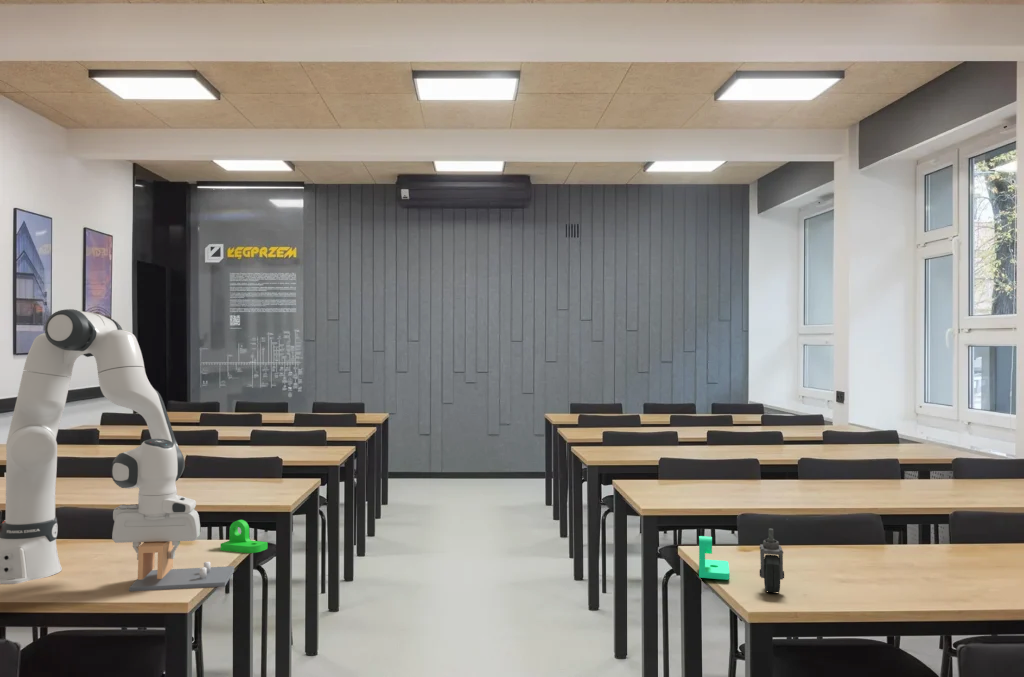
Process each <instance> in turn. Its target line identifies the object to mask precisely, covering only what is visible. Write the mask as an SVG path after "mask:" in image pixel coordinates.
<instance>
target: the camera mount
mask: <svg viewBox="0 0 1024 677" xmlns="http://www.w3.org/2000/svg"><path fill="white" fill-rule="evenodd" d="M698 540H699V541H698V546H699V547H698V548H699V549H698V550H699V551H698V578H702V579H715V580H730V576H731V575H730V565H729V564H730V563H729V561H727V560H719V559H706V554H708V555H711V554H713V537H712V536H704V535H699V536H698Z"/></svg>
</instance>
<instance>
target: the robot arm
mask: <svg viewBox="0 0 1024 677" xmlns="http://www.w3.org/2000/svg"><path fill="white" fill-rule="evenodd" d="M82 355H83V356H85V357H87V358H88V357H89V358H90V357H94V359H95V363H96V369H97V376H98V377H97V378H98V382H99V383H98V384H99V388H100V391H101V394H102V395H103V397H104V398H106V399H107V400H108V401H109V402H111V403H113V404H115V405H117V406H120V407H123V408H126V409H129V410H132V411H134V412H136V413H137V414H139V415H140V416H142V418H143V419H144V421H145V423H146V425H147V429H148V432H149V435H150V438H149V439H146V440H144V441H143V442H141V443H140V445H139V446H137V447H135V448H133V449H130V450H127V451H123V452H120V453H119V454H117V455H116V457H115V458H114V459H113V461H112V463H111V467H110V468H111V469H110V474H111V475H110V476H111V478H112V481H113V482H114V484H115V485H116V486H118V487H119V488H120V489H137V488H138V500H137V501H138V502H137V503H138V504H120V505H119V506H117V507H115V508H114V509H113V512H112V520H113V521H114V523H113V527H112V533H111V534H112V535H111V536H112V538H111V540H112V541H113V542H114V543H116V544H117V543H118V544H119V543H120V544H121V543H122V544H123V543H126V544H127V543H132V547H133V550H134V551H135V553H136V556H137V557H136V560H137V561H138V548H139V546H140V545H141V544H142V543H144V542H165V541H172V545H173V549H172V550H171V551H168V552H167V559H173V560H174V559H175V557H176V550H177V549H178V548H179V546H180V544H181V542H194V541H196V540H197V539H198V538H199V537H200V534H201V522H200V515H199V513H198V511H197V510H195V508H196V507H197V501H196V500H195V499H193V498H190V497H185V496H183V495H180V494H178V488H177V485H176V484H177V483H176V482H177V481H178V480H179V479H180V478H181V476H182V475H183V472H184V470H185V467H186V466H185V465H186V461H185V458H184V454H183V452H182V451H181V448H180V447H179V445H178V442H177V439H176V437H175V434H174V430H173V428H172V424H171V421H170V418H169V415H168V411H167V409H166V406H165V402H164V400H163V397H162V395H161V393H159V391H158V390H157V389H156V388H154V387H153V385H152V384H151V382H150V381H149V379H148V376H147V373H146V368H145V362H144V358H143V353H142V350H141V347H140V345H139V342H138V339H137V337H136V335H135V334H133V333H132V332H130V331H128V330H124V329H123V328H122V326H121V325H120V323H119V322H118V321H116V320H115V319H113V318H112V317H108V316H106V315H105V316H104V315H102V314H99V313H96V312H92V311H82V310H77V309H73V308H72V309H71V308H69V309H67V308H66V309H59V310H58V311H55V312H53V313H52V314H51V315H50V316H49V317H48V318H47V319H46V321H45V325H44V332H43V333H41V334H38V335H37V336H36V337H35V338H34V339H33V341H32V344H31V345H30V348H29V351H28V353H27V356H26V358H25V363H24V366H23V370H22V374H21V379H20V383H19V388H18V392H17V397H16V400H15V406H14V409H13V414H12V418H11V422H10V426H9V431H8V434H7V439H6V444H5V445H6V447H5V449H6V451H5V452H6V457H5V458H6V460H5V461H6V462H5V463H6V465H5V470H6V471H5V472H6V474H5V519H4V520H3V521H2V523H0V585H15V584H21V583H24V582H29V581H34V580H40V579H43V578H48V577H51V576H53V575H56V574H58V573H60V572H61V571H62V569H63V568H62V565H61V562H60V558H59V554H58V553H59V552H58V546H57V538H58V517H57V516H56V492H57V490H56V488H57V487H56V484H57V468H58V442H57V436H58V432H59V428H60V424H61V422H62V417H63V413H64V410H65V407H66V404H67V403H66V402H67V398H68V393H69V387H70V383H71V378H72V373H73V368H74V366H75V362H76V360H77V359H78V358H79V357H81V356H82Z"/></svg>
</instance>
